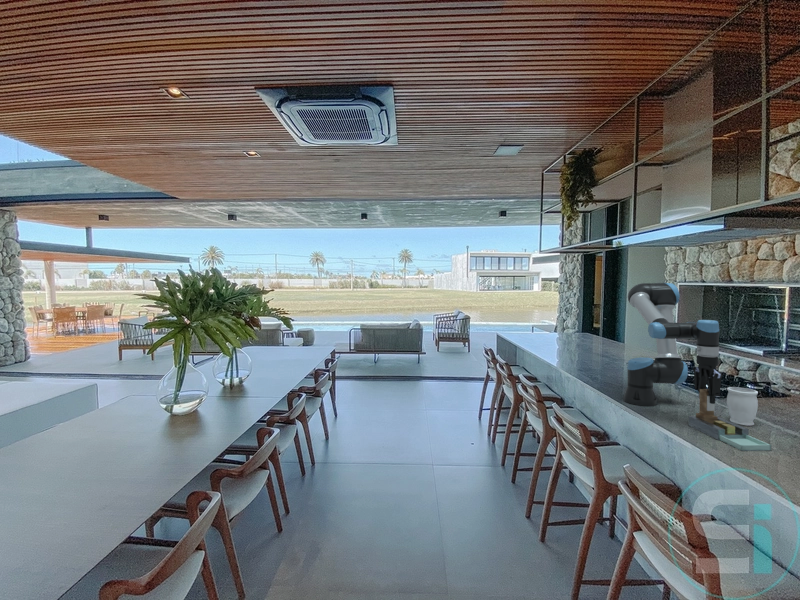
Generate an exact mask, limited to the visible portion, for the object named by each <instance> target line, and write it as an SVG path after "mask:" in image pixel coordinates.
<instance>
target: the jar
mask: <svg viewBox="0 0 800 600" xmlns="http://www.w3.org/2000/svg"><path fill="white" fill-rule="evenodd" d="M726 391H728V393H727V396H726V405H727V412H728V414H729V416H730V418H729V421H730V422H732V423H735V424H737V425H740V426H748V427H749V426H755V423H754V420H755V419H756V416H757V412H758V408H759V401H758V398H757V395H758V394H759V391H757V390H755V389H751V388H746V387H739V386H738V387H737V386H730V387H726Z"/></svg>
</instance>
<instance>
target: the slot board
mask: <svg viewBox="0 0 800 600" xmlns="http://www.w3.org/2000/svg"><path fill="white" fill-rule="evenodd" d="M716 416H717V415H716ZM717 417H718V421H723V422H725V423H727V424H730V425H732V426H735V434H726V433H725V429H723V428H720V427H718V426H716V425H714V424H711V423H709V422H707V421H705V420H702V419H700V418H698V417H696V415H689V416H688V426H689V427H690V426H691V427H690V428H693V429H694V430H696V431H699V432H701V433H703V434H705V435H707V436H709V437H711V438H713V439H716V440H717V441H720V440H719V435H722V436H724V437H726V438H728V439H746V435H749V433H750V432H749V431H750V430H749V428H747V427H745V426H743V425H740V424H736V423H733V422H731V421H730V420H727V419H725V418H723V417H720V416H717Z"/></svg>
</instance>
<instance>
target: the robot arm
mask: <svg viewBox="0 0 800 600" xmlns="http://www.w3.org/2000/svg"><path fill="white" fill-rule="evenodd" d="M679 291H680V290H679V288H678V287H677V285H675V284H674V283H672V282H669V283H668V282H651V283H649V282H643V283H642V282H641V283H638V284H636V285H634V286H632V287H631V288H630V290H629V291H628V294H627V301H628V303H629V304H630V305H631V307H632V308H635V309H636V310H637V311H638V313H639V314H640V315H641V316H642V318H643V319H644V320H645V322H646V323H647V325H648V328H647V332H648V336H650V338H651V339H656V341H655V342H656V351H657V355H656V356H655V357H654V358H652V357H643V356H642V357H635V358H630V359H629V360H628V361H627V367H626V369H627V383H626V384H627V385H626V389H625V392H624V395H623V401H624V402H625V403H628V404H631V405H636V406H640V407H641V406H644V407H653V406H657V405H658V399H657V396H656V393H655V390H654V384H669V385H670V384H671V385H677V384H678V385H679V384H683V383H685V382H686V380H687V379H688V375H689V368H688V365H687V363H686V362H685V361H682V357H681V356H680V355H679V354H678V350H677V349H678V348H677V339H678V340H696V354H697V355H696V364H697V367H692V371H693V375H694V376H693V377H694V383H693V384H694V389H695V390H697V392H698V400H699V403H698V404H699V405H698V407H699V408H700V389H708V393H709V395H707V411H714V412H715V409H716V408H715V405H716V397H720V396H721V388H722V387H721V386H722V379H723V376H724V375H723V373H720V372H719V371H718V370H717V366H719V365H720V364H719V362H720V361H719V360H720V359H719V357H718V356H719V355H720V353H719V352H720V346H719V345H720V344H719V343H720V330H721V329H720V325H719V321H718V320H714V319H713V320H712V319H699V320H697V321H696V322H695V321H687V322H675V321H674V314H673V313H674V312H673V311H674V309H675V308H676V305H677V304H678V303H679V302H680V298H681V297H680V296H681V295H680V292H679Z"/></svg>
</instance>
